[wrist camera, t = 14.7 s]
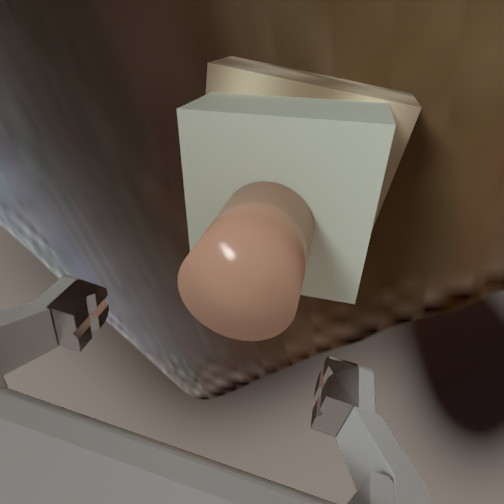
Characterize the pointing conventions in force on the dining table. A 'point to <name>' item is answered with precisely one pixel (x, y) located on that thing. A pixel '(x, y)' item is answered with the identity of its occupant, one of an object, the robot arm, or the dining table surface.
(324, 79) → the tower base block
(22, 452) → the robot arm
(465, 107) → the dining table surface
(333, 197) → the tower top block
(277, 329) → the terracotta cylinder
